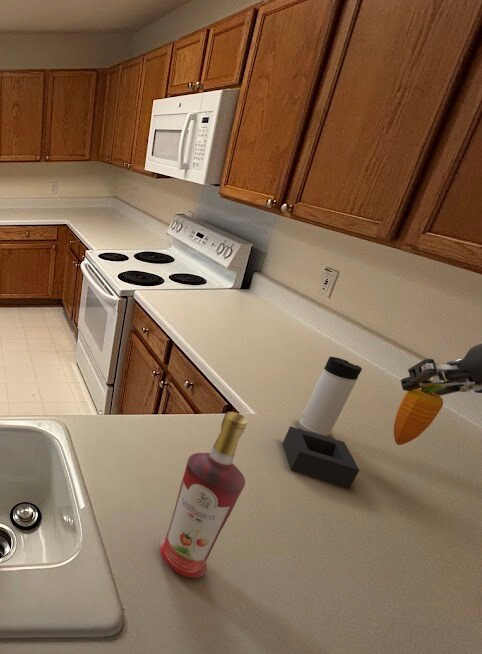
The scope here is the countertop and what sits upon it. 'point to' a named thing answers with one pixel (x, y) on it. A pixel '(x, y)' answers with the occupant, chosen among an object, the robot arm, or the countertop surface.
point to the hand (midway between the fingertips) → (419, 387)
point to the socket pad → (320, 457)
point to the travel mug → (329, 396)
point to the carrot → (416, 412)
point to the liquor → (204, 501)
